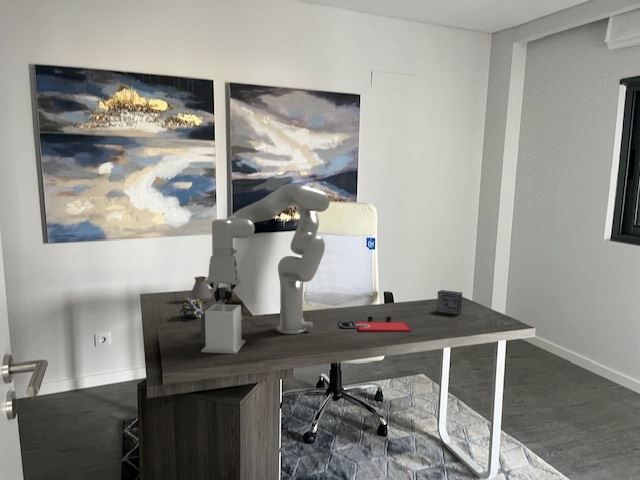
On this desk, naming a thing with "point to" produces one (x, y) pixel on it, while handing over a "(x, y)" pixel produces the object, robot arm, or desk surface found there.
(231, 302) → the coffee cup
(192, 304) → the passion flower
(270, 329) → the desk surface
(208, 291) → the coffee pot
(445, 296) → the small box
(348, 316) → the desk surface
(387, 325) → the red board with handle
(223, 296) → the plunger
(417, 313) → the desk surface
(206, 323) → the press housing
